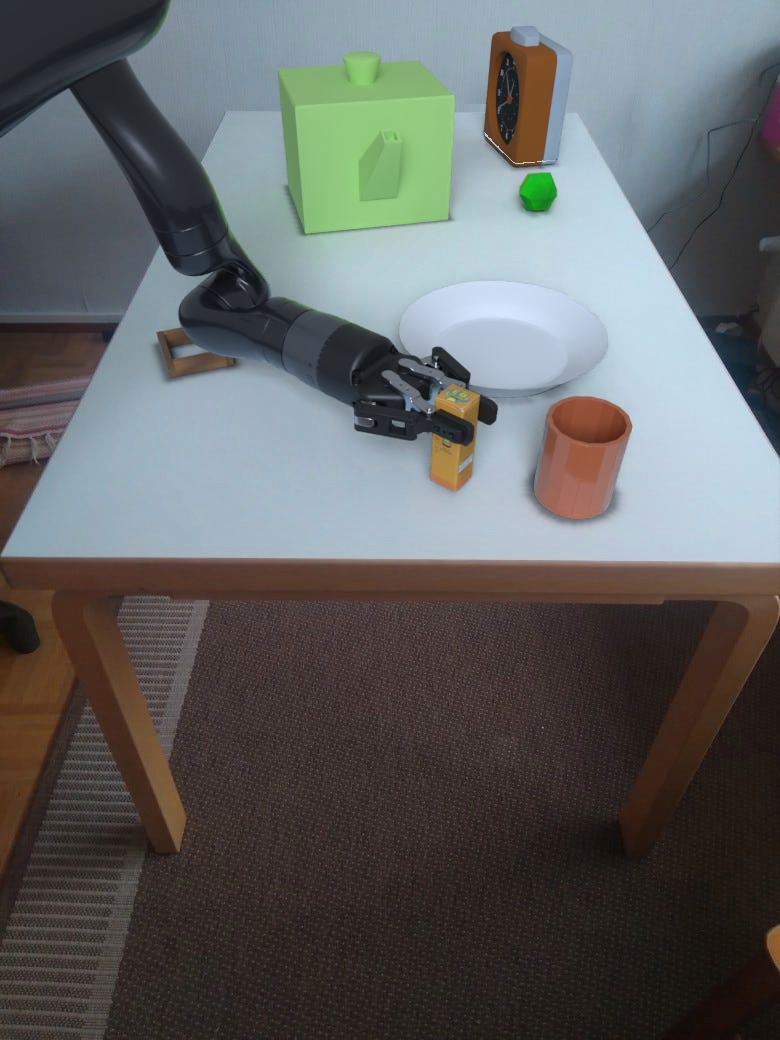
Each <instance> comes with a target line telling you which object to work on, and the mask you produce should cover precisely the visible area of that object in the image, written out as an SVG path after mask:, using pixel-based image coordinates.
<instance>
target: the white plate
mask: <svg viewBox="0 0 780 1040" xmlns="http://www.w3.org/2000/svg"><path fill="white" fill-rule="evenodd" d="M398 333H399V339H400V341H401V343H402V345H403V347H404V348H405V350H406V352H408V353H409V355H414V356H417V357H418V358H420V359H421V358H424V357H427V356H430V355H432V348H434V347H442V348H443V349H445V350H446V351H447V352H448V353H449V354H450V355H451V356H452V357H453V358H455V359H456V360H457V361H458V362H459V363H460V364H461V365H462V366H463V367H465V368H466V369H467V370H468V371H469V372H470V373H471V378H470V384H469V390H471V391H473V392H476V393H478V394H480V395H482V396H485V397H493V398H506V399H507V398H522V397H530V396H534V395H537V394H541V393H545V392H547V391H549V390H552V389H553V388H555V387H558V386H560V385H562V384H565V383H568V382H570V381H573V380H575V379H578V378H580V377H582V376H583V375H586V374H587V373H588V372H590V371H592V369H594V368H595V367H597V366H598V365H599V363H601V361H602V359H604V357H605V355H606V352H607V350H608V346H609V336H608V333H607V329H606V327H605V326H604V323H603V322H602V320H601V319H600V318H599V317H598V316H597V315H596V313H595V312H593V311H592V310H591V309H590V308H589V307H587V306H586V305H585V304H583V303H581V302H579V301H578V300H576V299H575V298H572V297H571V296H568V295H566V294H564V293H562V292H559V291H557V290H553V289H550V288H547V287H544V286H539V285H536V284H530V283H525V282H518V281H508V280H476V281H475V280H474V281H467V282H460V283H455V284H451V285H447V286H444V287H440V288H438V289H435V290H433V291H430V292H428V293H426V294H424V295H423V296H421V297H419V298H418V299H416V300H414V301H413V302H412V303H411V304H410V305H409V306H408V307H407V308H406V309H405V311H404V312H403V314H402V316H401V318H400V320H399V325H398Z"/></svg>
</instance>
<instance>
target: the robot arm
mask: <svg viewBox="0 0 780 1040" xmlns="http://www.w3.org/2000/svg"><path fill="white" fill-rule="evenodd" d="M171 2H172V0H0V139H1V138H3V137H5V136H6V135H7V134H9V132H11V131H13V130H14V129H15V128H16V127H17V126H19V125H20V124H21V123H23V122H24V121H25V120H27V118H29V117H30V116H31V115H32V114H34V113H35V112H37V110H39V109H40V108H42V107H43V106H44V105H45V104H47V103H49V101H51V100H53V99H55V97H57V96H59V95H60V94H62V93H63V92H65V91H67V90H69V92H70V93H71V95H72V97H73V98H74V99H75V101H76V102H77V104H78V106H79V107H80V109H81V110H82V111H83V113H84V114H85V116H86V117H87V119H88V120H89V122H90V124H91V125H92V127H93V128H94V129H95V131H96V132H97V134H98V135H99V137H100V139H101V141H103V143H104V145H105V146H106V148H107V150H108V151H109V152H110V154H111V156H112V158H113V159H114V161H115V162H116V163H117V165H118V167H119V169H120V170H121V172H122V174H123V175H124V177H125V179H126V180H127V182H128V184H129V186H130V188H131V189H132V191H133V193H134V195H135V197H136V199H137V201H138V203H139V205H140V207H141V209H142V211H143V213H144V215H145V217H146V219H147V221H148V223H149V226H150V227H151V230H152V231H153V233H154V235H155V237H156V239H157V241H158V243H159V245H160V248H161V250H162V251H163V253H164V256H165V257H166V259H167V261H168V263H169V264H170V266H171V267H172V269H174V271H176V272H178V273H179V274H180V275H182V276H187V277H202V276H205V275H208V276H207V277H205V278H204V279H203V280H202V281H201V282H199V284H198V285H196V286H195V287H194V288H193V289H192V290H191V291H189V292H188V293H187V294H186V295H185V296H184V298H182V300H181V302H180V304H179V305H178V310H177V317H178V322H179V325H180V327H182V330H183V331H184V333H185V334H186V336H187V337H188V338H189V339H190V340H191V341H192V342H193V344H194V345H196V346H197V347H199V348H201V349H202V350H204V351H206V352H211V353H214V354H217V355H221V356H226V357H232V358H233V359H242V360H247V361H253V362H254V361H256V362H265V363H267V364H269V365H271V366H274V367H276V368H278V369H279V370H282V371H284V372H286V373H287V374H290V375H291V376H293V377H295V378H296V379H297V380H299V381H300V382H302V383H303V384H305V385H307V386H308V387H310V388H313V389H314V390H316V391H318V392H321V393H323V394H324V395H326V396H328V397H330V398H332V399H334V400H337V401H338V402H340V403H343V404H345V405H346V406H349V407H351V408H352V409H353V428H354V430H355V432H360V433H365V434H371V435H376V436H380V437H385V438H391V439H398V440H403V441H409V442H414V441H416V440H417V439H418V435H421V434H425V435H431V434H432V435H433V433H434V434H436V435H438V436H440V437H442V438H444V439H446V440H449V441H450V442H453V443H455V444H462V445H464V446H468V445H469V444H470V443H471V442H472V441H473V438H474V425H473V424H472V423H470V422H468V421H466V420H464V419H462V418H460V417H458V416H455V415H453V414H451V413H449V412H447V411H445V410H443V409H440V410H438V411H437V412H436V408H435V407H434V403H435V397H436V396H437V395H438V394H440V393H441V392H442V391H443V390H445V389H446V388H447V387H449V386H450V385H452V384H455V385H458V386H460V387H462V388H465V389H467V390H469V384H470V378H471V373H470V372H469V371H468V370H467V369H466V368H465V367H463V366H462V365H461V364H460V363H459V362H458V361H457V360H456V359H455V358H453V357H452V356H451V355H450V354H449V353H448V352H447V351H446V350H445V349H443V348H442V347H434V348H432V355H430V356H427V357H424V358H421V359H420V358H418V357H417V356H414V355H410V354H405V353H402V352H401V351H399V350H398V349H397V347H396V346H395V344H394V342H392V340H391V339H390V338H388V337H387V336H384V335H381V334H380V333H377V332H375V331H373V330H370V329H368V328H366V327H364V326H361V325H359V324H356V323H354V322H352V321H349V320H348V319H345V318H342V317H340V316H337V315H335V314H332V313H327V312H323V311H320V310H317V309H315V308H313V307H310V306H308V305H306V304H303V303H301V302H298V301H296V300H294V299H292V298H288V297H285V296H272V289H271V286H270V284H269V281H268V280H267V278H266V277H265V275H264V274H263V273H262V271H261V270H260V269H259V267H257V265H256V264H255V263H254V262H253V260H252V259H251V257H250V256H249V255H248V254H247V252H246V251H245V250H244V248H243V247H242V245H241V244H240V242H239V241H238V240H237V238H236V237H235V235H234V233H233V232H232V230H231V227H230V225H229V223H228V220H227V217H226V215H225V213H224V210H223V208H222V204H221V202H220V200H219V197H218V194H217V192H216V190H215V188H214V185H213V182H212V181H211V178H210V176H209V175H208V173H207V171H206V170H205V167H204V166H203V164H202V162H201V161H200V160H199V158H198V157H197V155H196V154H195V152H194V151H193V150H192V149H191V147H190V145H189V144H188V143H187V142H186V140H184V139H183V137H182V136H181V134H180V133H179V132H178V131H177V130H176V128H175V127H174V126H173V124H172V123H171V122H170V121H169V120H168V118H167V117H166V116H165V115H164V114H163V112H162V111H161V110H160V109H159V107H158V106H157V104H156V103H155V102H154V100H153V99H152V98H151V96H150V94H149V93H148V92H147V90H146V89H145V87H144V85H143V84H142V83H141V81H140V80H139V78H138V75H137V74H136V72H135V71H134V69H133V67H132V65H131V63H130V62H129V60H128V57H130V56H132V55H134V54H136V53H137V52H139V51H141V50H142V49H143V48H145V47H146V46H147V45H148V44H149V43H150V42H151V41H152V40H153V39H154V38H155V37H156V36H157V34H158V33H159V31H160V30H161V29H162V27H163V25H164V23H165V21H166V19H167V17H168V13H169V11H170V7H171ZM470 391H471V390H470ZM472 392H473V391H472ZM475 393H476V392H475ZM477 394H478V393H477ZM479 395H480V394H479ZM498 411H499V407H498V404H497V403H496V401H494V400H493V399H491V398H489V397H487V396H484V395H480V400H479V410H478V420H477V422H479V423H482V424H483V425H486V426H492V425H493V424H494V423H495V422H496V421H497V419H498V413H499V412H498ZM393 422H397V423H402V424H403V426H398V425H394V423H393Z"/></svg>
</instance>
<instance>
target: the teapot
mask: <svg viewBox="0 0 780 1040" xmlns="http://www.w3.org/2000/svg"><path fill="white" fill-rule="evenodd" d="M381 60H382V56H381V55H380V54H378V53H376V52H372V51H367V50H366V51H365V50H364V51H363V50H362V51H361V50H360V51H359V50H358V51H350V52H348V53H346V54H344V55H343V56H342V61H343V64H337V65H335V64H334V65H321V66H319V65H318V66H306V67H305V66H303V67H287V68H277V82H278V92H279V104H280V113H281V124H282V133H283V144H284V145H283V146H284V155H285V165H286V177H287V186H288V190H289V192H290V195H291V198H292V201H293V203H294V207H295V209H296V212H297V214H298V217H299V220H300V223H301V226H302V229H303V231H304V234H306V235H307V234H309V235H310V234H317V233H327V232H329V233H330V232H339V231H349V230H359V229H360V230H361V229H369V228H380V227H389V226H398V225H400V226H401V225H409V224H420V223H430V222H440V221H448V220H449V215H450V198H451V197H450V196H451V181H452V163H453V161H452V160H453V145H454V144H453V143H454V128H455V110H456V97H455V96H456V95H455V94H453V92H452V91H450V90H449V89H448V88H447V87H446V86H445V85H444V84H443V82H442V81H440V80H439V78H437V77H436V76H435V74H434V73H433V72H431V71H430V70H429V68H427V66H425V65H424V64H423V63H422V62H421V61H420V60H403V61H402V60H401V61H388V62H387V61H386V62H385V61H384V62H381Z"/></svg>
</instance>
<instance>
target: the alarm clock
mask: <svg viewBox="0 0 780 1040" xmlns="http://www.w3.org/2000/svg"><path fill="white" fill-rule="evenodd" d="M490 42H491V43H490V52H489V64H488V75H487V76H488V77H487V87H486V100H485V110H484V111H485V112H484V123H483V133H484V132H485V133H486V134H487V135H488V137H489V138H491V139H492V141H493V142H494V143H495V144H496V145H497V146H499V148H500V149H501V150H502V151H503V152H504V153H505V154H506V155H507V156H508V157H509V158H510V159H511V160H512V161H513V162H515V163H523V162H535V163H524V164H515V163H513V162H512V161H511V160H510V159H509V158H508V157H507V156H506V155H505V154H504V153H502V152H501V151H500V150H499V149H498V148H497V147H496V146H495V145H494V144H493V143H492V142H491V141H490V140H489V139H488V138H487V137H486V136H485V135H484V134H483V136H484V139H485V140H486V141H487V142H488V143H489V144H490V146H492V147H493V148H494V149H495V150H496V151H497V152H498V153H499V154H500V155H501V156H502V157H503V158H504V159H505V160H506V161H507V162H508V163H509V164H510V165H511V166H512V167H514V168H521V167H530V166H541V165H553V164H555V163H557V162H558V160H559V159H558V158H559V154H560V147H561V141H562V134H563V128H564V121H565V115H566V110H567V102H568V97H569V89H570V83H571V77H572V70H573V64H574V54H573V52H572V51H571V50H570V49H568V48H566V47H565V46H563V45H562V44H560V43H558V42H556V41H555V40H553V39H552V38H550V37H548V36H547V35H545V34H543V33H542V32H540V31H539V30H538V28H537V27H536V26H534V25H521V26H518V25H517V26H512V27H511V28H510V30H507V31H496V32H495V33H493V34H492V37H491V41H490ZM556 159H557V160H556ZM542 160H543V161H546V160H555V161H546V162H537V161H542Z"/></svg>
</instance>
